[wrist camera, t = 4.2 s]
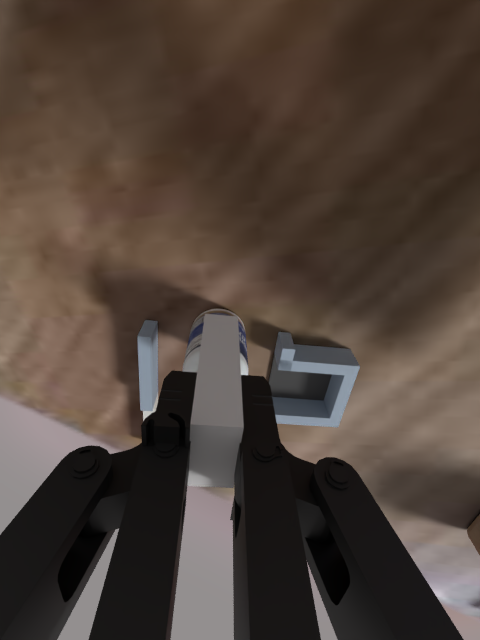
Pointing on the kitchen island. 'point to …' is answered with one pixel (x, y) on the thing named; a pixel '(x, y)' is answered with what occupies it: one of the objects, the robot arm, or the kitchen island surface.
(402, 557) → the robot arm
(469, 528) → the wooden block
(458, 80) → the kitchen island surface
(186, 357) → the pill bottle
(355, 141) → the kitchen island surface
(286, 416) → the blue-grey open frame
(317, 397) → the pit
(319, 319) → the kitchen island surface
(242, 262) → the kitchen island surface
